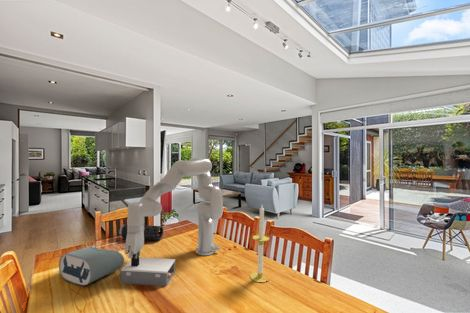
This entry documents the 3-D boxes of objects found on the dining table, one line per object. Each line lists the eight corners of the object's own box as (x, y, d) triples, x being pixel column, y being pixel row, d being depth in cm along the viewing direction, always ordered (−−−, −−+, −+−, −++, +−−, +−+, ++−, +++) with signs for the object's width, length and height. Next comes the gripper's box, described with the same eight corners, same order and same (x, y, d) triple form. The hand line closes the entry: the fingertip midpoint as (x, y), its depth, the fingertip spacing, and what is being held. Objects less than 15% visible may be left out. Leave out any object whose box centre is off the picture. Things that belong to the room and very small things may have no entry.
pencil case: (58, 278, 109) (59, 251, 109) (95, 262, 127) (96, 239, 127) (89, 290, 101) (91, 261, 101) (124, 271, 119) (125, 246, 119)
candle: (254, 284, 109) (256, 206, 108) (247, 273, 118) (249, 202, 117) (273, 281, 111) (275, 205, 110) (265, 271, 121) (267, 201, 120)
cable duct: (174, 272, 118) (175, 260, 117) (165, 287, 105) (166, 274, 105) (133, 269, 119) (133, 258, 119) (119, 284, 106) (120, 271, 106)
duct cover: (175, 260, 117) (175, 259, 117) (166, 273, 105) (166, 271, 105) (133, 258, 119) (133, 256, 119) (120, 270, 107) (120, 268, 107)
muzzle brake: (157, 243, 153) (157, 228, 153) (118, 241, 156) (118, 226, 155) (163, 238, 163) (163, 223, 162) (126, 235, 165) (126, 221, 165)
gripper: (136, 222, 118) (135, 257, 118) (119, 233, 103) (118, 273, 103) (150, 223, 117) (149, 258, 118) (135, 233, 102) (134, 274, 103)
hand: (135, 265), depth 110 cm, fingers closed
